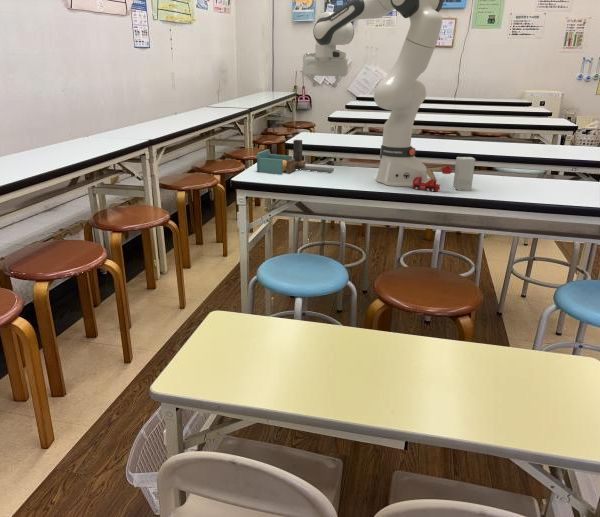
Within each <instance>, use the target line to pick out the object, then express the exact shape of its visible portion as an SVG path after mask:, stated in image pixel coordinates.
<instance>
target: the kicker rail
mask: <svg viewBox="0 0 600 517" xmlns="http://www.w3.org/2000/svg"><path fill="white" fill-rule="evenodd" d="M295 169H299V170H298V171H301V170H310V171H309V172H312V171H317V172H316V173H323V172H328V173H327V174H332V173H333V172H334V171H335V168H334V167H323V166H313V165H305V166H303V167H298V166H295ZM300 169H301V170H300ZM332 171H333V172H332Z"/></svg>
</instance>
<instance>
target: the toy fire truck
mask: <svg viewBox="0 0 600 517" xmlns="http://www.w3.org/2000/svg"><path fill="white" fill-rule="evenodd" d="M438 171H439V172H440V171H441V173H442V174H444V175H450V174H452V173H453V167H451V166H447V165H444V166H440V167H438V166H437V167H432V168H431V167H430V168H428V169H427V171H426V173H427V176H428V178H430V179H431V180H430V181H428V182H426V183H421V179H422V177H416V178H414V180H413V187H411V188H412V189H413V188H414V189H418V190H423V191H427V190H430V191H431V190H433V191H434V192H438V190H439V191H440V189H441V184H437V180H438V179H437V178H436V176H435V174H434V172H438Z"/></svg>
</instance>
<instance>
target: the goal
mask: <svg viewBox="0 0 600 517" xmlns="http://www.w3.org/2000/svg"><path fill="white" fill-rule="evenodd" d="M290 159H293V155H285V154H271V152H270V149H268V148H267V149H264V150H262V151H259V152H257V153H256V173H262V174H272V175H283V174H284V172H283V160H286V161H288V160H290Z"/></svg>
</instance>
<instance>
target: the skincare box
mask: <svg viewBox="0 0 600 517" xmlns="http://www.w3.org/2000/svg"><path fill="white" fill-rule="evenodd" d="M455 158H456V159H455V165H454V166H455V167H454V177H453V185H452V187H454V188H455V189H471V190H472V187H473V179H474V173H475V165H476V164H475V163H476V158H474V157H472V156H457V157H455ZM454 188H453V189H454ZM455 189H454V190H455Z"/></svg>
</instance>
